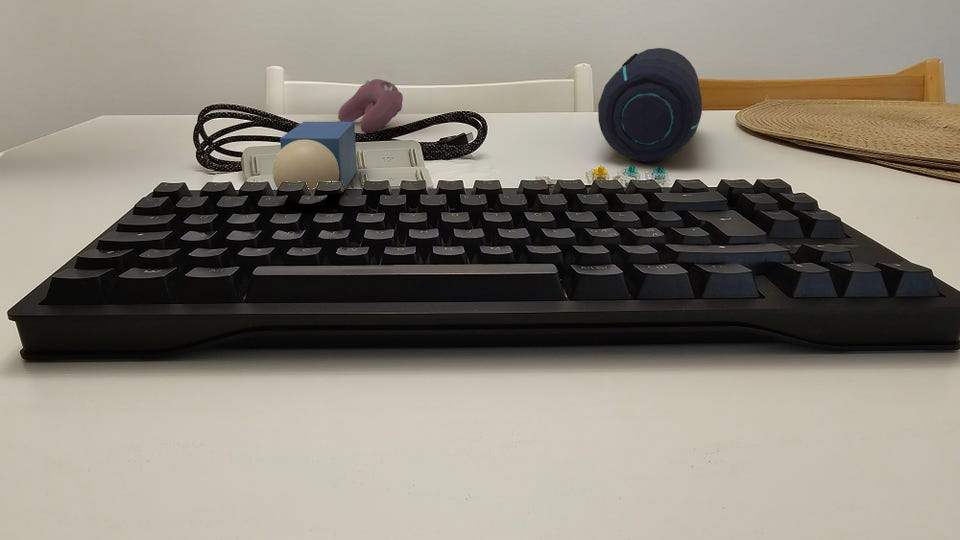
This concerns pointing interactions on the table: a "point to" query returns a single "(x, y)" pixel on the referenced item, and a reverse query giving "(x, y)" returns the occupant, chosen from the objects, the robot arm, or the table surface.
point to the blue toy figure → (317, 154)
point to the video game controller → (372, 105)
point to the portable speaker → (651, 105)
